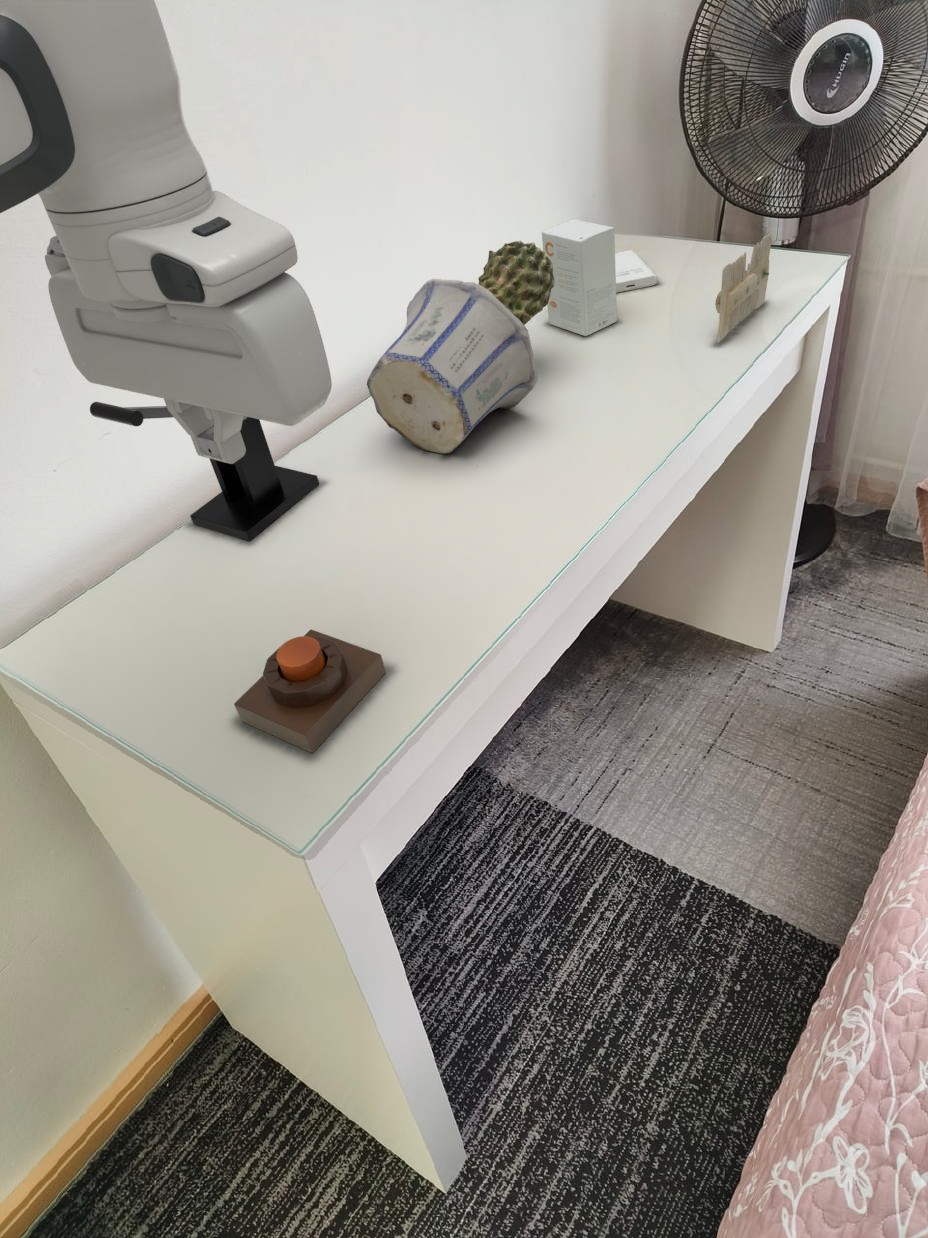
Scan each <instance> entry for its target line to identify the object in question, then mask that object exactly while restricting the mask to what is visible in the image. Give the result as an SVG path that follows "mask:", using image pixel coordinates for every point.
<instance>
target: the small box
mask: <svg viewBox="0 0 928 1238" xmlns="http://www.w3.org/2000/svg"><path fill="white" fill-rule="evenodd" d="M541 239H542V240H541V241H542V251H543V252H545V253H546V254H547V256H548V258H549V259H550V261H551V262H552V264H553V277H554V280H555V283H554V287H553V288H552V289H551V293H550V298H549V302H548V304H547V305H546V306H547V319H548V325H551V326H555V327H557V328H560V329H564V330H566V331H569V332H572V333H574V334H577V335H581V336H583V337H587V336H590V335H592V334H594V333H596V332H598V331H600V330H602V329H605V328H606V327H608V326H610V325H612V324H615V323H616V322H617V321H618V313H617V312H618V309H617V308H618V307H617V305H618V304H617V293H616V271H615V253H616V245H615V244H616V243H615V242H616V241H615V226H614V227H613V226H609V225H604V224H599V223H594V222H589V221H585V220H581V219H577V218H574V219H571V220H569V221H566V222H563V223H561V224H558V225H556V226H552V227H551V228H548V229H545V230H542V231H541Z"/></svg>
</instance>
